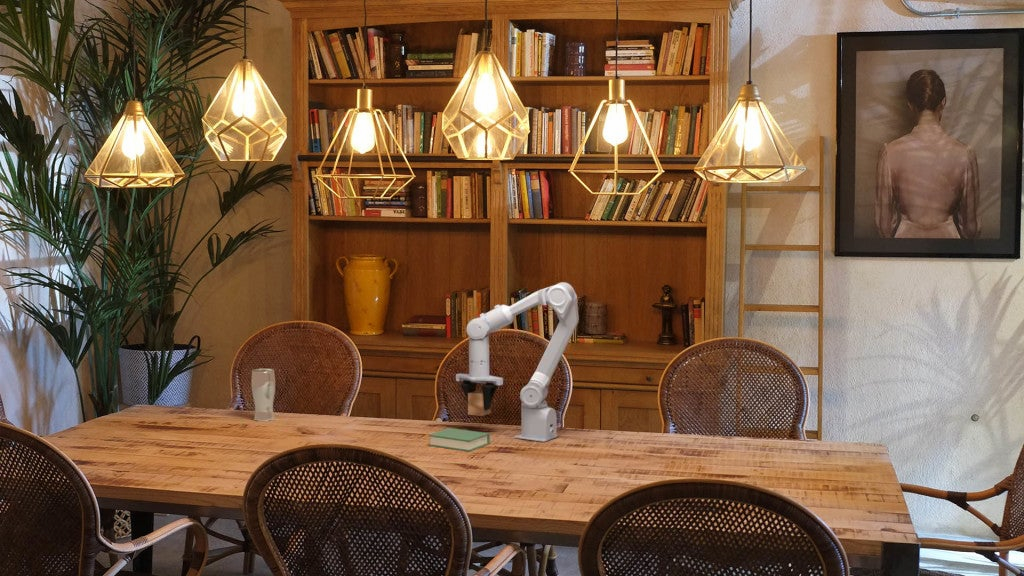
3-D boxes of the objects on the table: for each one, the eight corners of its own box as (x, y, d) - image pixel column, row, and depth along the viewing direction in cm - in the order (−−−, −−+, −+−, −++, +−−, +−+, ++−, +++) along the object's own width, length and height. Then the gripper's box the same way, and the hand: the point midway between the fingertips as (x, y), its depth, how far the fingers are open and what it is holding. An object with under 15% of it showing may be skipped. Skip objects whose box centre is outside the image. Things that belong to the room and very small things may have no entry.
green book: (489, 444, 285) (489, 433, 285) (469, 451, 277) (469, 440, 276) (450, 438, 292) (450, 427, 292) (429, 445, 283) (429, 434, 283)
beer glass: (263, 422, 312) (262, 372, 311) (247, 420, 316) (246, 370, 315) (280, 418, 318) (279, 369, 317) (264, 415, 322) (263, 367, 321)
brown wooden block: (490, 413, 297) (490, 392, 296) (481, 416, 293) (481, 394, 292) (477, 411, 299) (476, 390, 298) (468, 414, 295) (467, 393, 294)
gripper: (449, 360, 295) (450, 408, 296) (493, 364, 287) (493, 413, 289) (463, 357, 301) (463, 403, 302) (506, 361, 293) (507, 409, 295)
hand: (479, 408), depth 296 cm, fingers closed on brown wooden block, 5 cm apart
